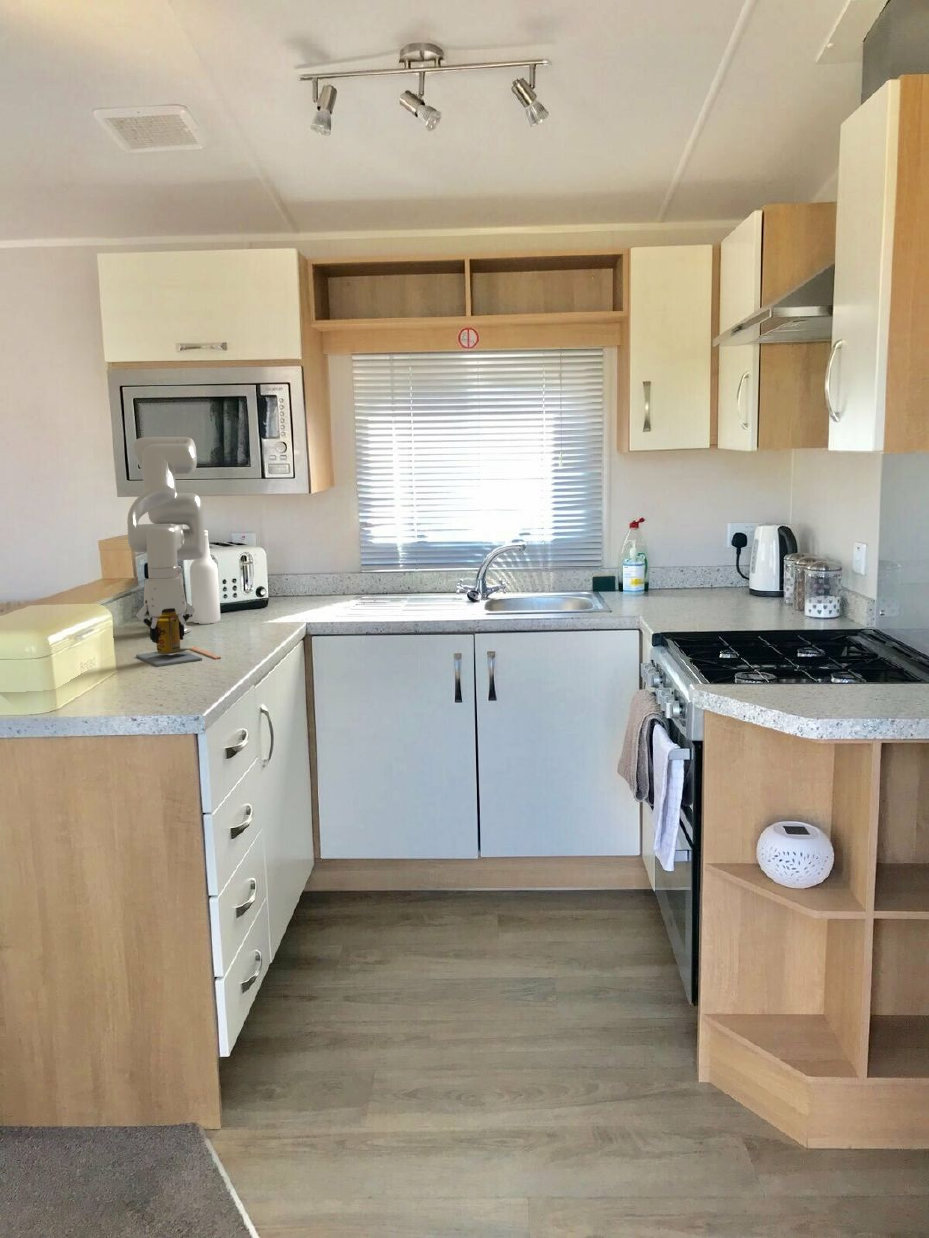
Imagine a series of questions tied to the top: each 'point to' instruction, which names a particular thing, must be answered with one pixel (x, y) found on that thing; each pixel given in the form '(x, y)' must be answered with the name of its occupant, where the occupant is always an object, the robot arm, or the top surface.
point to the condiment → (168, 633)
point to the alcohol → (205, 588)
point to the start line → (205, 653)
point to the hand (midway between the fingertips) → (167, 640)
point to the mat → (168, 658)
